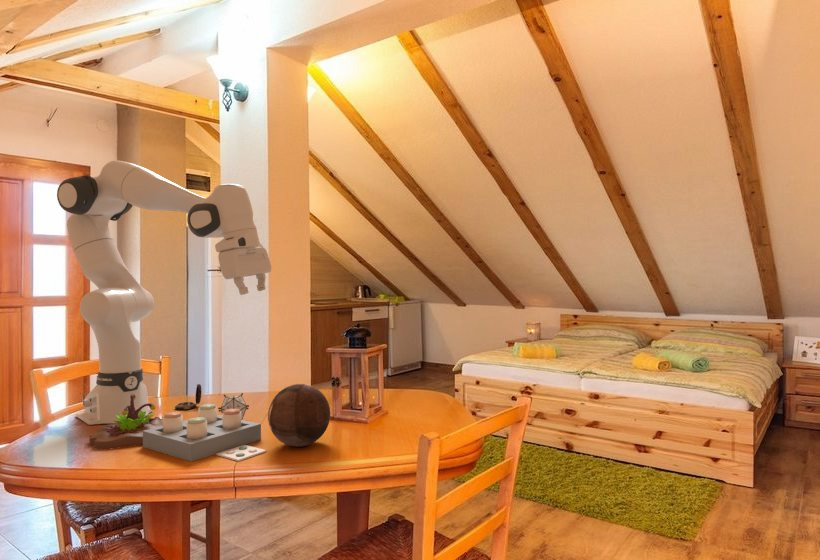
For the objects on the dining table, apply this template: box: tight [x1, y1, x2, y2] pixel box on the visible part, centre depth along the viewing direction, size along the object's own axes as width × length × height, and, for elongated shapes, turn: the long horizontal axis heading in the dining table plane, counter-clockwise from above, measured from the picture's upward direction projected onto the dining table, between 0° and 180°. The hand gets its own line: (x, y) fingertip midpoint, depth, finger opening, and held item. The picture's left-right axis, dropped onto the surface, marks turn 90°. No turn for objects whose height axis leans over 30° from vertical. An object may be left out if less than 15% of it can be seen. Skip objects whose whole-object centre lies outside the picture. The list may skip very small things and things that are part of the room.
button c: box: [186, 416, 207, 441], centre depth 133 cm, size 5×5×6 cm
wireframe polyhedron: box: [217, 392, 250, 420], centre depth 159 cm, size 9×8×10 cm
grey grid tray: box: [142, 414, 262, 462], centre depth 140 cm, size 20×20×4 cm
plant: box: [88, 394, 163, 450], centre depth 147 cm, size 20×20×11 cm
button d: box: [221, 409, 242, 430], centre depth 141 cm, size 5×5×6 cm
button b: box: [198, 403, 218, 424], centre depth 147 cm, size 5×5×6 cm
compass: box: [174, 383, 202, 411], centre depth 177 cm, size 8×8×7 cm
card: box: [216, 444, 267, 462], centre depth 131 cm, size 8×8×1 cm
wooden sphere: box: [267, 383, 331, 448], centre depth 137 cm, size 15×15×15 cm
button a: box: [162, 411, 184, 434], centre depth 139 cm, size 5×5×6 cm
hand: (253, 292), depth 151 cm, fingers open, 8 cm apart
